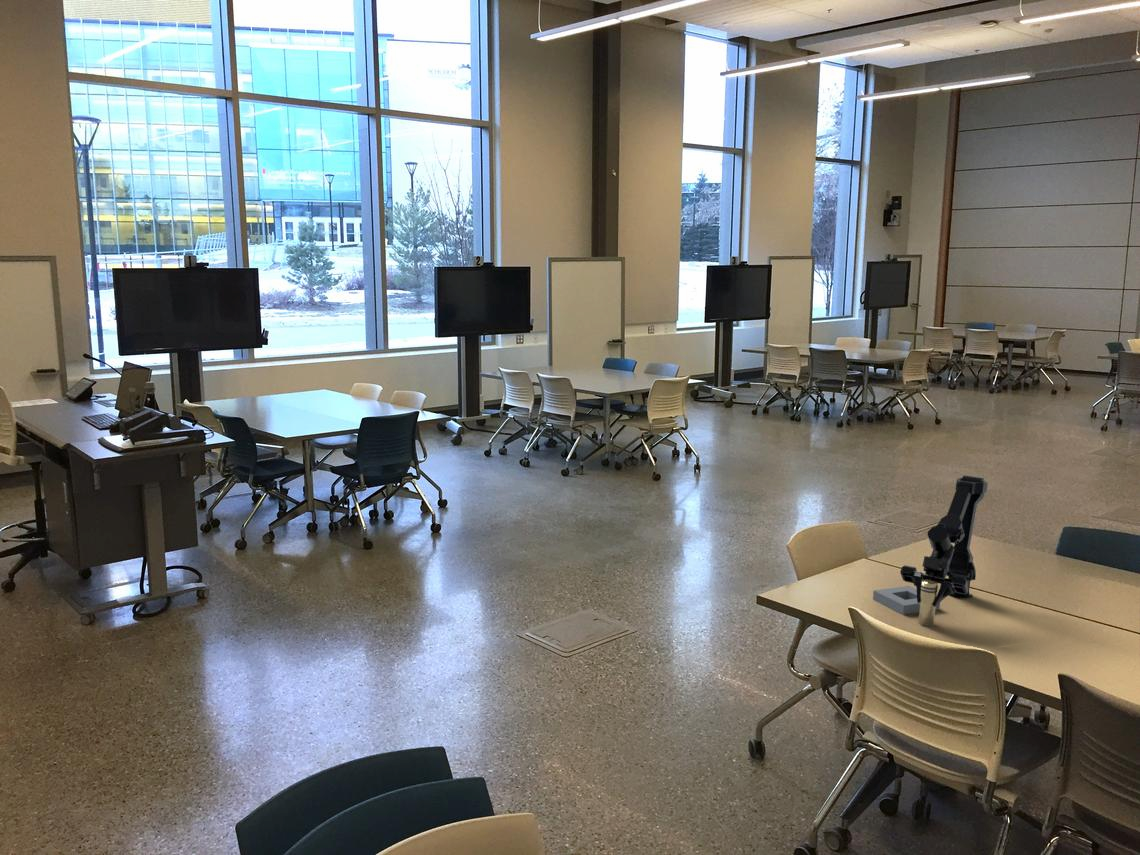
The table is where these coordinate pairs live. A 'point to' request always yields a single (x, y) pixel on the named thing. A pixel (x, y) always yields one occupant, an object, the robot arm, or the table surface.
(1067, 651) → the table surface
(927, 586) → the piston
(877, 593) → the grey square frame
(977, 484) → the robot arm
